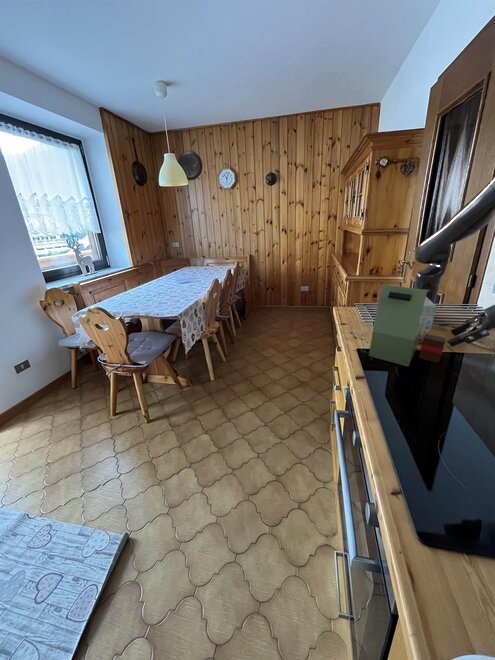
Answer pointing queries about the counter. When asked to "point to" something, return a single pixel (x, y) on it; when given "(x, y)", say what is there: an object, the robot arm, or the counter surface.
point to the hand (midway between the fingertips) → (450, 338)
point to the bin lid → (399, 310)
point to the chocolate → (432, 348)
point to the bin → (394, 347)
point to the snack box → (427, 318)
